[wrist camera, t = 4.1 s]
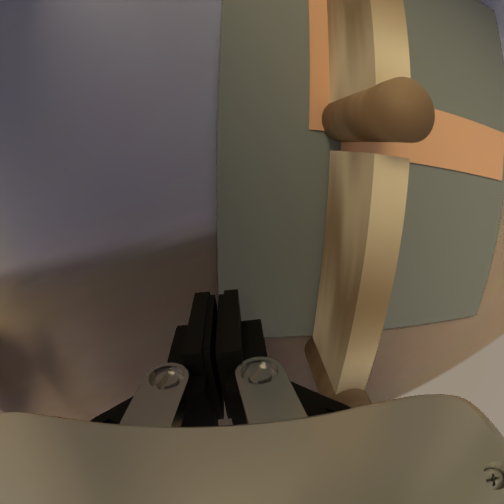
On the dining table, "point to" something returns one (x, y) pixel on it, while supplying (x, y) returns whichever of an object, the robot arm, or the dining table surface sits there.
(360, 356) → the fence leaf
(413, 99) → the wooden fence panel
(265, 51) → the card
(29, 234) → the dining table surface
